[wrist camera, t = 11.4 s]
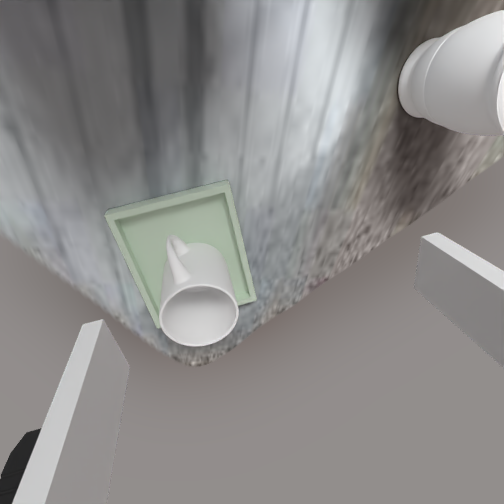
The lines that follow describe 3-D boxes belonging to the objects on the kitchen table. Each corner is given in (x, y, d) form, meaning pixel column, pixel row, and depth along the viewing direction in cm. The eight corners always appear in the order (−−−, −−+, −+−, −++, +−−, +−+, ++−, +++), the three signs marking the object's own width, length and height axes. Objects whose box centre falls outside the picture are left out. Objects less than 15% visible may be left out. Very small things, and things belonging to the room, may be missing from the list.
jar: (453, 122, 41) (580, 136, 28) (383, 129, 39) (482, 148, 26) (476, 25, 36) (643, -13, 23) (396, 29, 34) (526, -9, 21)
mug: (201, 207, 39) (207, 244, 29) (235, 279, 45) (249, 328, 35) (138, 234, 39) (125, 279, 29) (181, 301, 45) (181, 357, 35)
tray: (108, 209, 37) (104, 215, 35) (227, 179, 38) (229, 184, 36) (158, 319, 46) (157, 328, 44) (253, 291, 47) (256, 300, 45)
